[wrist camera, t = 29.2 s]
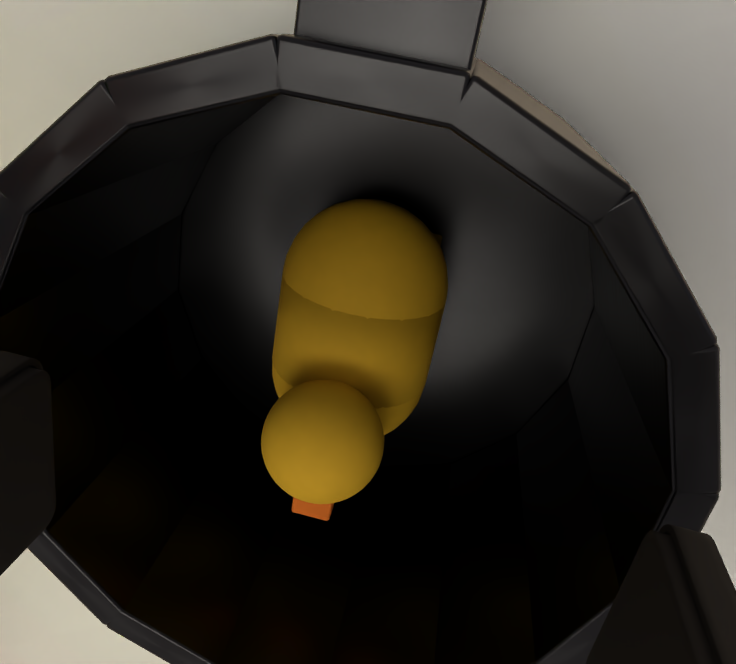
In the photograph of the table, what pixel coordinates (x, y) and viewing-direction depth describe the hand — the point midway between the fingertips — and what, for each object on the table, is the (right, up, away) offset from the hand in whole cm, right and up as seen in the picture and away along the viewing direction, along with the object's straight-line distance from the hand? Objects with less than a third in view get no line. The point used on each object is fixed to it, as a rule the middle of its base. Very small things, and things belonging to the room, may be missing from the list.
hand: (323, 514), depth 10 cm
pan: (+1, +4, +8) cm, 9 cm away
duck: (+1, +4, +7) cm, 8 cm away
